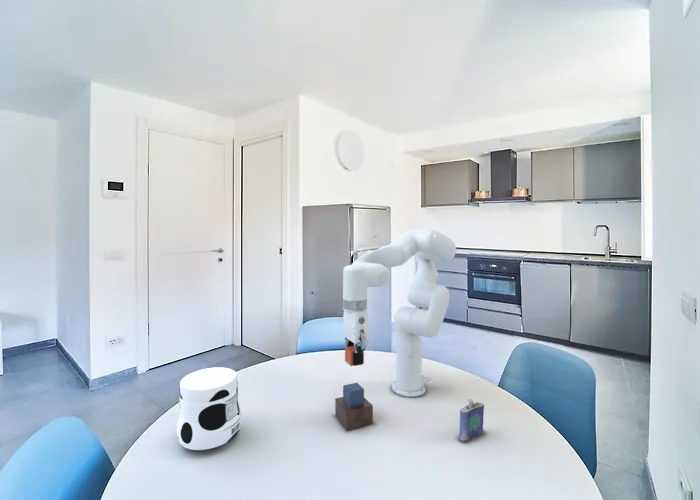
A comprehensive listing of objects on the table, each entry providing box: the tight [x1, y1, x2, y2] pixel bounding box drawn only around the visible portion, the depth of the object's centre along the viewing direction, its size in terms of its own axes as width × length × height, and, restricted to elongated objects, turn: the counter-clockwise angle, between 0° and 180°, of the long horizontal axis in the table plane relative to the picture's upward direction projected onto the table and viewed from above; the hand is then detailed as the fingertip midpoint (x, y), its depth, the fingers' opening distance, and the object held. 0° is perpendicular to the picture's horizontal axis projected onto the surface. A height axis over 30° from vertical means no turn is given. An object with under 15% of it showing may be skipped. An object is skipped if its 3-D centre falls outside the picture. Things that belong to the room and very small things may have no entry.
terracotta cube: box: [344, 344, 365, 367], centre depth 107 cm, size 4×4×4 cm
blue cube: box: [342, 382, 365, 408], centre depth 108 cm, size 5×5×5 cm
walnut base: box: [334, 396, 374, 432], centre depth 108 cm, size 9×9×6 cm
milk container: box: [176, 366, 242, 452], centre depth 98 cm, size 17×17×18 cm
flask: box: [458, 398, 485, 443], centre depth 100 cm, size 9×3×11 cm, turn 121°
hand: (354, 361), depth 107 cm, fingers closed on terracotta cube, 4 cm apart
